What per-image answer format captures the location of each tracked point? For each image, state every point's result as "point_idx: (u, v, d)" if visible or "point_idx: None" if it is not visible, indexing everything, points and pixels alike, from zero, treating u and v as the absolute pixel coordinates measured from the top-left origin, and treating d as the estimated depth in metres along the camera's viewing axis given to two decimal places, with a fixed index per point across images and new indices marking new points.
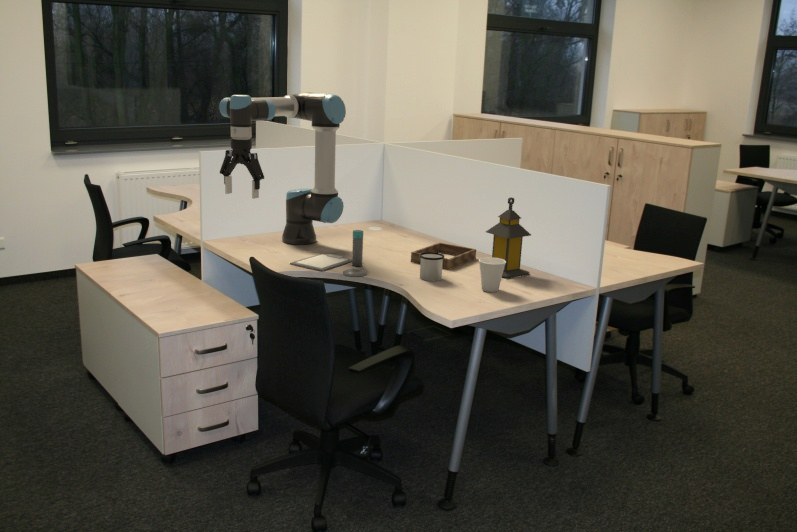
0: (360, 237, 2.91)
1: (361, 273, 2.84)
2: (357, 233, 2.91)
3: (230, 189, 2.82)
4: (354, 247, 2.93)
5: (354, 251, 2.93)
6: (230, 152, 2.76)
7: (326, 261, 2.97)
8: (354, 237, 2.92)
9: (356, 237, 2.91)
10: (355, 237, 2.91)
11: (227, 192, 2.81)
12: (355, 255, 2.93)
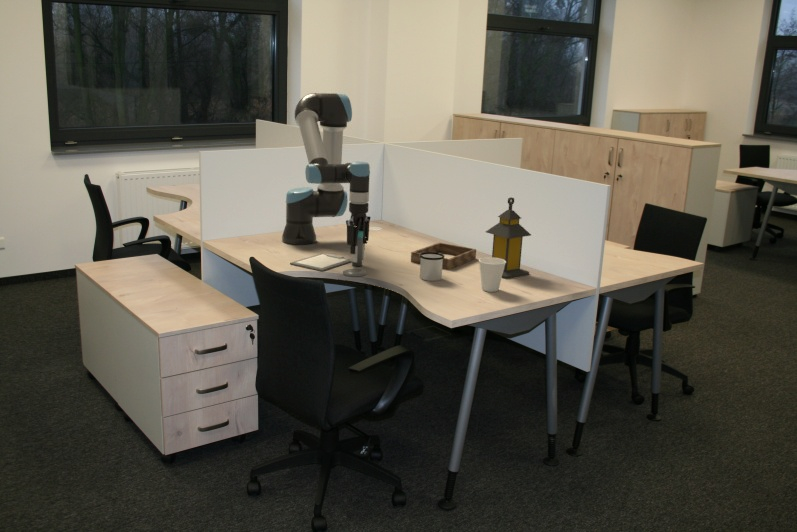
0: (360, 237, 2.91)
1: (361, 273, 2.84)
2: None
3: None
4: None
5: None
6: None
7: (326, 261, 2.97)
8: None
9: None
10: None
11: None
12: None
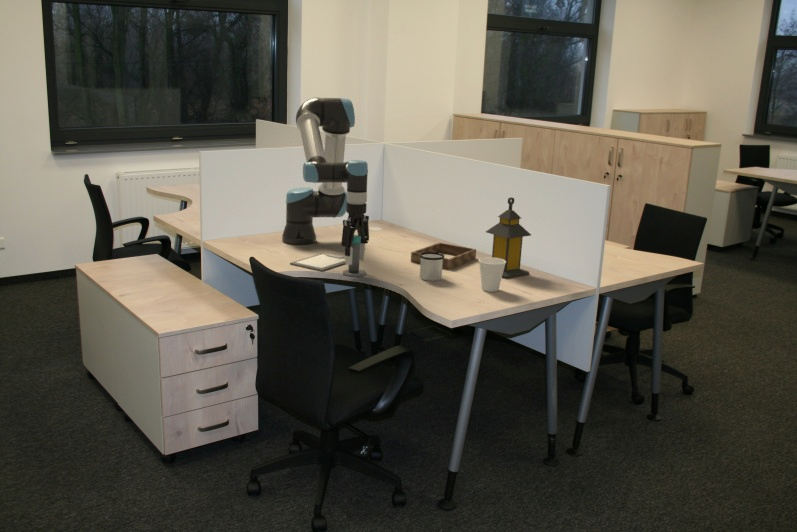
0: (358, 242, 2.80)
1: (361, 273, 2.84)
2: (355, 238, 2.80)
3: (362, 257, 2.86)
4: None
5: None
6: None
7: (326, 261, 2.97)
8: None
9: (353, 242, 2.80)
10: (352, 242, 2.80)
11: None
12: (352, 261, 2.82)
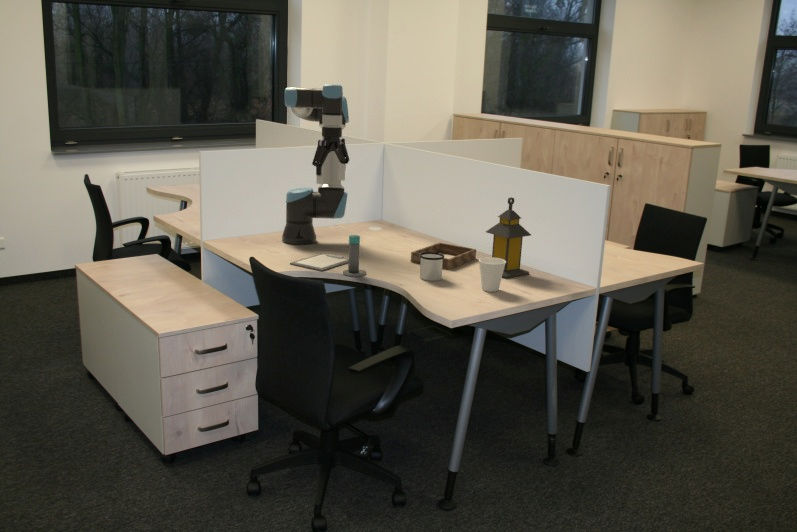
0: (357, 242, 2.80)
1: (361, 273, 2.84)
2: (354, 238, 2.79)
3: (342, 177, 2.93)
4: (351, 253, 2.81)
5: (351, 257, 2.82)
6: None
7: (326, 261, 2.97)
8: (350, 242, 2.80)
9: (353, 242, 2.80)
10: (352, 242, 2.80)
11: (339, 178, 2.94)
12: (351, 262, 2.82)
